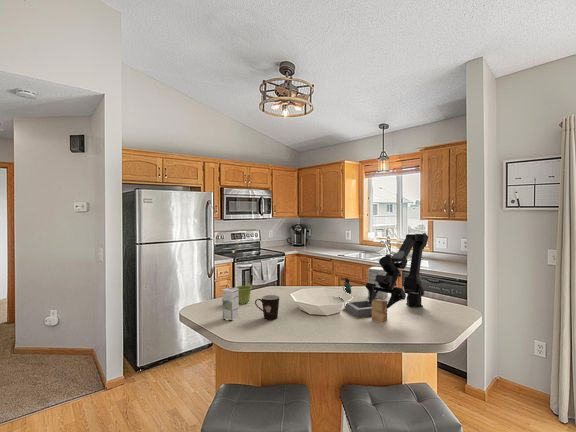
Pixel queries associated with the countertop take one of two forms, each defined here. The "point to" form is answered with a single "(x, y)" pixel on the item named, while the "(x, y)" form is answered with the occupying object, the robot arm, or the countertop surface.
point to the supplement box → (372, 276)
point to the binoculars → (347, 286)
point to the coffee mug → (269, 306)
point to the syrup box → (230, 303)
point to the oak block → (379, 310)
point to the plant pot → (244, 293)
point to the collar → (359, 308)
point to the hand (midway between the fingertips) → (378, 305)
